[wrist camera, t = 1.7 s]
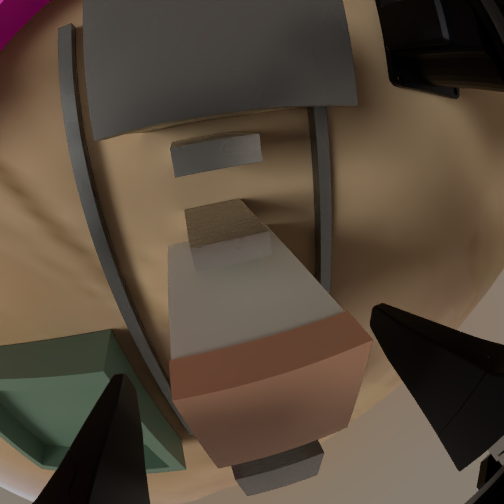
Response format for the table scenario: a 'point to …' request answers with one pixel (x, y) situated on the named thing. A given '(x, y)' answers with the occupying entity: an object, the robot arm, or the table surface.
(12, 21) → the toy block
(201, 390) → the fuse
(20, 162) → the table surface
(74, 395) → the tray
